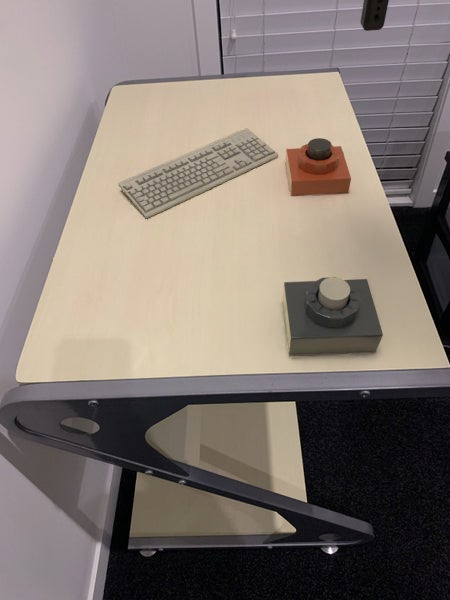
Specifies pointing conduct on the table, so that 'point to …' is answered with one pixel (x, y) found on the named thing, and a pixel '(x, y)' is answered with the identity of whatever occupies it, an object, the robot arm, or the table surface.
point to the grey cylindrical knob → (333, 293)
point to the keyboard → (196, 172)
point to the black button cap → (319, 149)
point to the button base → (317, 172)
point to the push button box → (330, 320)
